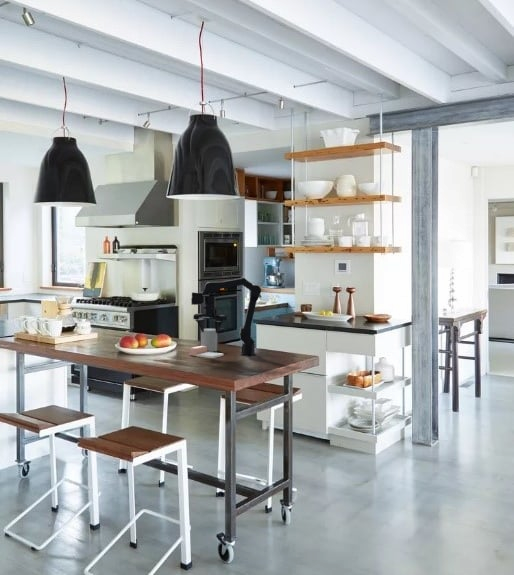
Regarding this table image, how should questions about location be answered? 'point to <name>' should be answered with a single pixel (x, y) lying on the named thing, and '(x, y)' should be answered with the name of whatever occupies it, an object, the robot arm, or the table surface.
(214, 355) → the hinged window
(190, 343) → the table surface
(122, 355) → the table surface
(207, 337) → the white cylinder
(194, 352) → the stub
